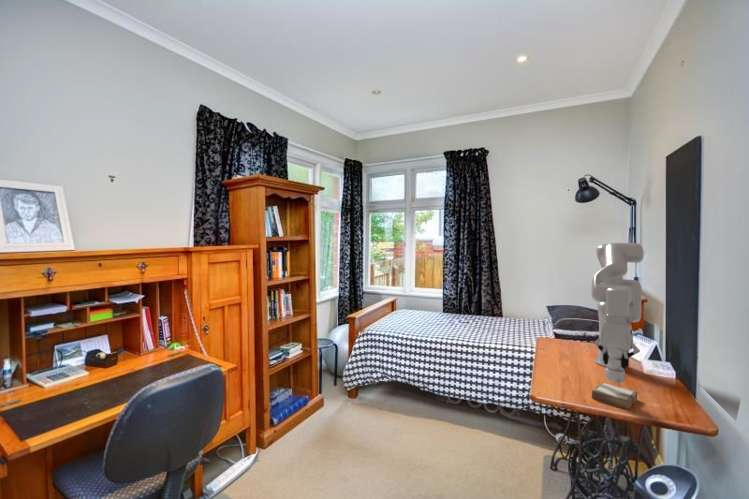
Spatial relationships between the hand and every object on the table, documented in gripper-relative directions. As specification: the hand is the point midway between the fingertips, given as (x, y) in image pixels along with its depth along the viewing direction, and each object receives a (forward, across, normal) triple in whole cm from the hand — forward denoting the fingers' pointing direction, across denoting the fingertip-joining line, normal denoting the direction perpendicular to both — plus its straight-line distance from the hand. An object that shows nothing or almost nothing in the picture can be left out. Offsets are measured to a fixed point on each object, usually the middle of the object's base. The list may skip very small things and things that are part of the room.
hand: (615, 365), depth 138 cm
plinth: (+13, 0, 0) cm, 13 cm away
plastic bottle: (+7, 0, 0) cm, 7 cm away
